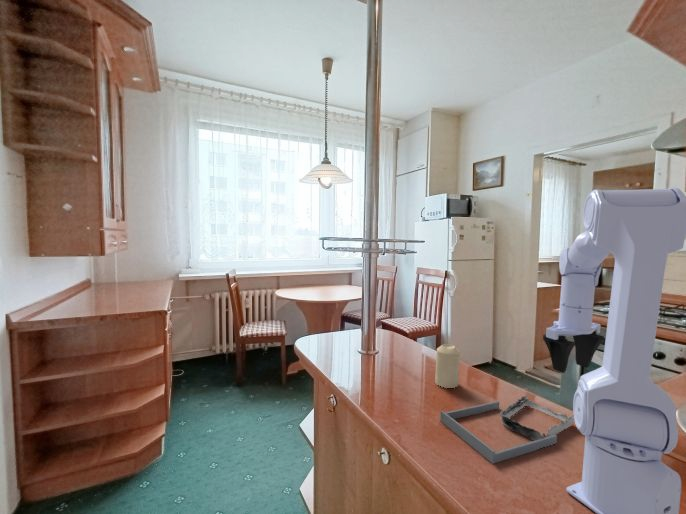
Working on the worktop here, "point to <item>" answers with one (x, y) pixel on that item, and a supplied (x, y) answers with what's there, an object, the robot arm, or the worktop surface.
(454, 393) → the worktop surface
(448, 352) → the candle
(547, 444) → the box
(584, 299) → the robot arm
